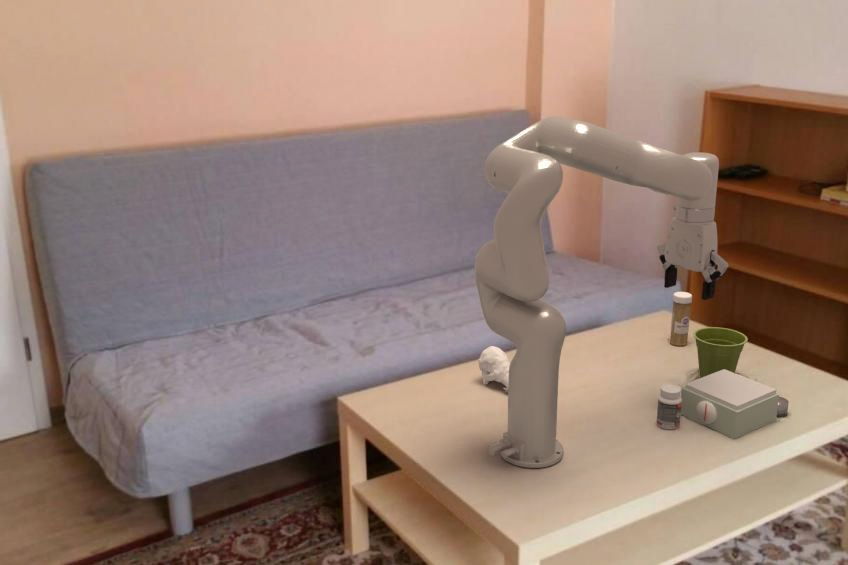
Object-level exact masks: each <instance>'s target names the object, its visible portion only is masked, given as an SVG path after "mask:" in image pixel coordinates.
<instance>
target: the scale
mask: <svg viewBox="0 0 848 565" xmlns="http://www.w3.org/2000/svg"><path fill="white" fill-rule="evenodd" d="M680 389H681V393H680V397H681V399H682V404H681V416H684V417H686V418H688V419H691V420H693V421H695V422H697V423H700V424H702V425H703V426H706V427H708V428H710V429H712V430H714V431H716V432H719V434H720V433H721V434H723V435H725V436H726V437H729V438H732V439H737V438H739V437H742V436H744V435H747V434H748V433H751V432H753V431H755V430H757V429H759V428H762V427H764V426H766V425H768V424H771V423H772V422H774V421H775V422H776V420H777V417H776V415H777V408H778V400H779V397H780V394H779V393H777V389H775V388H773V387H771V386H768V385H766V384H763V383H760V382H758V381H755V380H753V379H750V378H747V377H745V376H742V375H740V374H737V373H736V372H735V373H733V372H730V371H728V370H725V369H723V370H720V371H718V372H715V373H713V374H710V375H707V376H705V377H702V378H700V377H699V378H698V379H697V378H696V379H695V380H693V381H690V382H687V383H685V384H684V386H683V387H681V388H680Z"/></svg>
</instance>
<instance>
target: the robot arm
mask: <svg viewBox="0 0 848 565" xmlns="http://www.w3.org/2000/svg"><path fill="white" fill-rule="evenodd" d="M562 165H564V166H566V167H571V168H574V169H576V170H579V171H582V172H585V173H590V174H592V175H596V176H599V177H602V178H606V179H607V180H611V181H613V182H614V181H615V182H618V183H622V184H626V185H629V186H634V187H641V188H645V189H646V188H647V189H649V190H651V191H653V192H656V193H658V194H663V195H666V196H672V197H675V198H677V199H676V200H677V201H676V203H674V204H673V206H672V209H673V211H676V213H675V216H673V217H672V219H671V222H670V224H669V229H668V232H667V237H666V242H665V243H663V244H659V245H657V246H656V249H657V253H658V255H659V260H660V262H661V263H662V269H663V270H665V271H664V283H663V284H664V288H665V289H668V288H672V287H675V286H677V281H678V280H677V278H678V267H679V268H682V269H686V270H688V271H691V272H696V273H702V277H704V279H705V280H704V281H703V282H702V289H701V290H702V291H701V300H703V301H706V300H709V299H713V298H714V297H715V296H714V295H715V293H716V283H717V281H718V280H719V279H720V278H721V277H722V276H724V275H725V272H726V271H727V269H728V268H729V263H728V262H727V261H726V260H725V259H723V257H722V256H720V255H719V253H718V231H717V230H718V229H717V223H716V221H715V211H716V199H717V190H718V180H719V179H718V178H719V168H720V161H719V158H718V156H716V155H715V154H712V153H709V152H699V151H698V152H697V151H696V152H688V153H685V154H679V153H677V152H673V151H670V150H668V149H667V150H666V149H664V148H661V147H658V146H655V145H653V144H651V143H647V142H645V141H642V140H640V139H635V138H633V137H631V136H627V135H624V134H621V133H618V132H615V131H613V130H610V129H607V128H605V127H602V126H600V125H599V126H598V125H596V124H593V123H591V122H588V121H583V120H579V119H574V118H573V119H572V118H567V117H562V116H555V115H554V116H548V117H545V118H543V119H540V120H539V121H537V122H534V123H533V124H531V125H529V126H528V127H526V128H525V129H523V130H521V131H520V132H518V133H517V134H515V135H513V136H511V137H510V138H508V139H507V140H504V141H503V142H501V143H500V144H499V145H497V146H496V147H495V148H494V149H492V151H491V152H490V153H489V154H488V156H487V158H486V160H485V163H484V167H483V170H484V177H485V180H486V181H487V183H488V184H489V185H490V186H491V187H492V188H494V189H495V190H497V191H500V192H501V193H506V194H507V196H506V198H505V199H504V201H503V202H502V204H501V205H500V207H499V209H498V211H497V213H496V215H495V218H494V221H493V237H494V239H492V240H489V241H488V242H486V243H485V244H483V246H482V247H481V248H480V249H479V250H478V252H477V255H476V256H475V260H474V267H473V269H474V270H473V272H474V279H475V283H476V287H477V293H478V298H479V301H480V302H479V303H480V306H481V309H482V314H483V317H484V320H485V322H486V325H487V326H488V328H489V329H490V330H491V331H492V332H493V333H495V334H497V335H498V336H499V337H501V338H503V339H505V340H507V341H508V342H510V343H513V344H514V345H515V347H516V351H515V353H514V356H513V357H512V359H511V361H510V366H509V388H508V392H507V396H508V397H507V400H508V401H507V431H506V432H504V433H503V434H502V436H503V437H502V438H503V439H500V441H499V442H496V443H494V444H492V445H488V447H487V451H488V453H489V455H490V456H496V455H498V454H500V456H501V458H503V460H505V461H506V462H508V463H510V464H512V465H514V466H517V467H520V468H521V467H522V468H527V469H528V468H530V469H540V468H546V467H547V468H548V467H550V466H554V465H556V464H557V463H559V462H560V461H561V460H562V459H563V457H564V447H563V444H562V443H561V442H560V441H559V440H558V439H557V422H558V421H557V420H558V398H559V395H558V394H559V372H560V363H561V362H560V360H561V354H562V349H563V346H564V342H565V338H566V333H567V325H566V320H565V319H564V316H563V315H562V314H561V312H560V311H559V310H558V309H556V308H555V307H554V306H553V305H551V304H549V303H547V302H545V301H543V300H541V299H542V298H543V297H544V296H545V295H546V294H547V291H548V290H549V285H550V271H549V267H548V261H547V256H546V251H545V245H544V240H543V232H542V222H543V218H544V216H545V213H546V211H547V209H548V208H549V206H550V205H551V203H552V201H553V200H554V199H555V198H556V196H557V195H558V194H559V192H560V190H561V187H562V185H563V180H564V171H563V166H562ZM716 266H717V268H716V269H715V267H716Z"/></svg>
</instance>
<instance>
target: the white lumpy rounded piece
mask: <svg viewBox="0 0 848 565" xmlns="http://www.w3.org/2000/svg"><path fill="white" fill-rule="evenodd" d="M479 356H480V357H479V358H478V361H477V362H478V367H479V370H480V371H481V375H482V380H483V381H482V382H483V385H485V386H487V385H488V384H489V383H490V382H493V381H495V382H496V383H501V384H502V385H504V386H505V387H503V390H505V391H506V393H508V388H509V366H510V363H511V361H510V359H509V357H508V356H507V354H506V352H505V351H503V350H502V348H500V347H498V346H494V345H490V346H488V347H487V348H485V349H483V351H482V352H481V353H480V355H479Z"/></svg>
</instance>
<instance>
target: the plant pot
mask: <svg viewBox="0 0 848 565" xmlns="http://www.w3.org/2000/svg"><path fill="white" fill-rule="evenodd" d="M692 334H693V337H694V338H695V345H696V349H697V350H696V351H697V359H698V360H697V361H698V375H699V379H700V378H702V377H705V376H707V375H710V374H713V373H715V372H718V371H720V370H723V369H725V370H728V371H730V372H733V373H735V374H736V370H737V366H738V363H739V359H740V358H741V357H740V356H741V352H742V351H743V350H744V346H745V344H746V343H747V342H748V339H749V338H748V336H746V335H745V334H744V333H742V332H740V331H738V330H734V329H732V328H726V327H717V326H715V327H714V326H708V327H707V326H706V327H702V328H701V327H700V328H698V329H696V330H695V331H694V332H693V333H692Z"/></svg>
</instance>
